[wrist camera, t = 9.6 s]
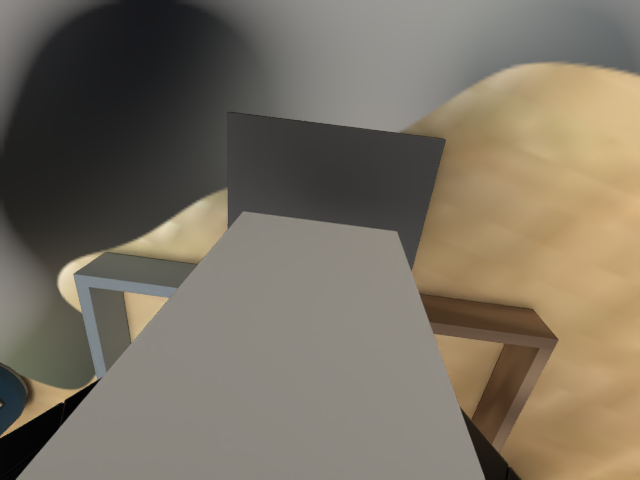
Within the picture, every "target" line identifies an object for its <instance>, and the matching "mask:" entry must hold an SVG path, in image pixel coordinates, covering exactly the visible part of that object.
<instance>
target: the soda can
mask: <svg viewBox="0 0 640 480" xmlns="http://www.w3.org/2000/svg"><path fill="white" fill-rule="evenodd" d="M27 395H28V388H27V386H26V383H25V382H24V380H23V379H22V378H21V376H20V375H19V374H18V373H16V372H15V371H14V370H13V369H11V368H10V367H8V366H6V365H4V364H2V363H0V436H1V435H2V434H3V433H4V432H5V431H6V430H7V429H8V428H9V427H10V426H11V425H12V424H13V423H14V422H15V421H16V420H17V419H18V418H19V417H20V415H21V414H22V412H23V409H24V406H25V403H26V399H27Z"/></svg>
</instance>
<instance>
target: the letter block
mask: <svg viewBox="0 0 640 480" xmlns="http://www.w3.org/2000/svg"><path fill="white" fill-rule="evenodd" d="M16 480H485V477H484V474H483V471H482V469H481V466H480V463H479V460H478V457H477V455H476V452H475V449H474V446H473V443H472V441H471V438H470V435H469V432H468V429H467V427H466V424H465V421H464V418H463V415H462V413H461V410H460V407H459V404H458V401H457V399H456V396H455V393H454V390H453V387H452V384H451V382H450V379H449V376H448V373H447V370H446V368H445V365H444V362H443V359H442V356H441V354H440V351H439V348H438V345H437V342H436V340H435V337H434V334H433V331H432V328H431V326H430V323H429V320H428V317H427V314H426V312H425V309H424V306H423V303H422V300H421V297H420V295H419V292H418V289H417V286H416V283H415V281H414V278H413V275H412V272H411V269H410V267H409V264H408V261H407V258H406V255H405V253H404V250H403V247H402V244H401V241H400V239H399V236H398V233H397V231H390V230H382V229H374V228H367V227H359V226H351V225H344V224H336V223H329V222H321V221H313V220H306V219H298V218H290V217H283V216H275V215H267V214H260V213H252V212H244V211H243V212H242V213H241V215H240V216H239V217H238V218H237V219H236V220H235V222H234V223H233V224H232V225H231V226H230V228H229V229H228V230H227V231H226V232H225V233H224V235H223V236H222V237H221V238H220V239H219V241H218V242H217V243H216V244H215V245H214V246H213V248H212V249H211V250H210V251H209V252H208V253H207V255H206V256H205V257H204V258H203V259H202V261H201V262H200V263H199V264H198V265H197V266H196V268H195V269H194V270H193V271H192V272H191V274H190V275H189V276H188V277H187V278H186V279H185V281H184V282H183V283H182V284H181V285H180V287H179V288H178V289H177V290H176V291H175V292H174V294H173V295H172V296H171V297H170V298H169V299H168V301H167V302H166V303H165V304H164V305H163V307H162V308H161V309H160V310H159V311H158V312H157V314H156V315H155V316H154V317H153V318H152V320H151V321H150V322H149V323H148V324H147V325H146V327H145V328H144V329H143V330H142V331H141V333H140V334H139V335H138V336H137V337H136V338H135V340H134V341H133V342H132V343H131V344H130V345H129V347H128V348H127V349H126V350H125V351H124V353H123V354H122V355H121V356H120V357H119V358H118V360H117V361H116V362H115V363H114V364H113V366H112V367H111V368H110V369H109V370H108V371H107V373H106V374H105V375H104V376H103V377H102V379H101V380H100V381H99V382H98V383H97V384H96V386H95V387H94V388H93V389H92V390H91V391H90V393H89V394H88V395H87V396H86V397H85V399H84V400H83V401H82V402H81V403H80V404H79V406H78V407H77V408H76V409H75V410H74V412H73V413H72V414H71V415H70V416H69V417H68V419H67V420H66V421H65V422H64V423H63V425H62V426H61V427H60V428H59V429H58V430H57V432H56V433H55V434H54V435H53V436H52V437H51V439H50V440H49V441H48V442H47V443H46V445H45V446H44V447H43V448H42V449H41V450H40V452H39V453H38V454H37V455H36V456H35V458H34V459H33V460H32V461H31V462H30V463H29V465H28V466H27V467H26V468H25V469H24V470H23V472H22V473H21V474H20V475H19V476H18V478H17V479H16Z"/></svg>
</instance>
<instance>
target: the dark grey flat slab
mask: <svg viewBox="0 0 640 480" xmlns="http://www.w3.org/2000/svg"><path fill="white" fill-rule="evenodd" d="M445 141H446V140H445V139H443V138H435V137H427V136H419V135H411V134H403V133H395V132H387V131H379V130H370V129H363V128H355V127H347V126H338V125H331V124H323V123H315V122H307V121H299V120H291V119H283V118H275V117H267V116H259V115H251V114H243V113H235V112H228V229H229V228H230V226H231V225H232V224H233V223H234V222H235V220H236V219H237V218H238V217H239V216H240V215H241V213H242V212H243V211H244V212H252V213H260V214H267V215H275V216H283V217H290V218H298V219H306V220H313V221H321V222H329V223H336V224H344V225H351V226H359V227H367V228H374V229H382V230H390V231H397V233H398V236H399V239H400V241H401V244H402V247H403V250H404V253H405V255H406V258H407V261H408V264H409V267H410V269H411V271H412V268H413V264H414V260H415V256H416V252H417V248H418V244H419V241H420V237H421V233H422V229H423V225H424V221H425V218H426V214H427V210H428V206H429V202H430V198H431V195H432V191H433V187H434V183H435V179H436V175H437V172H438V168H439V164H440V160H441V156H442V152H443V148H444V145H445Z"/></svg>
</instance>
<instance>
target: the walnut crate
mask: <svg viewBox="0 0 640 480" xmlns="http://www.w3.org/2000/svg"><path fill="white" fill-rule="evenodd" d="M419 295H420V297H421V300H422V303H423V306H424V309H425V312H426V314H427V317H428V320H429V323H430V326H431V328H432V331H433V334H439V335H447V336H454V337H462V338H469V339H476V340H484V341H491V342H498V343H506V344H505V346H504V348H503V350H502V353H501V355H500V357H499V360H498V362H497V364H496V366H495V369H494V371H493V373H492V375H491V378H490V380H489V382H488V384H487V387H486V389H485V391H484V394H483V396H482V398H481V400H480V403H479V405H478V407H477V409H476V412H475V414H474V416H473V418H472V422H473V423H474V424H475V425H476V426H477V428H478V429H479V430H480V431H481V432H482V434H483V435H484V436H485V437H486V438H487V439H488V441H489V442H490V443H491V444H492V445H493V446H494V448H495V449H496V450H497V451H498V452H499V453H500V451H501V449H502V447H503V445H504V443H505V441H506V439H507V437H508V435H509V434H510V432H511V430H512V428H513V426H514V424H515V422H516V420H517V418H518V416H519V414H520V413H521V411H522V409H523V407H524V405H525V403H526V401H527V399H528V397H529V395H530V393H531V391H532V390H533V388H534V386H535V384H536V382H537V380H538V378H539V376H540V374H541V372H542V370H543V369H544V367H545V365H546V363H547V361H548V359H549V357H550V355H551V353H552V351H553V349H554V348H555V346H556V344H557V342H558V338H557V337H556V336H555V335H554V334H553V332H552V331H551V330H550V329H549V328H548V327H547V325H546V324H545V323H544V322H543V321H542V319H541V318H540V317H539V316H538V315H537V314H536V312H535V311H534V310H533V309H525V308H518V307H510V306H503V305H495V304H488V303H480V302H473V301H465V300H458V299H451V298H443V297H436V296H428V295H421V294H419Z"/></svg>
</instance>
